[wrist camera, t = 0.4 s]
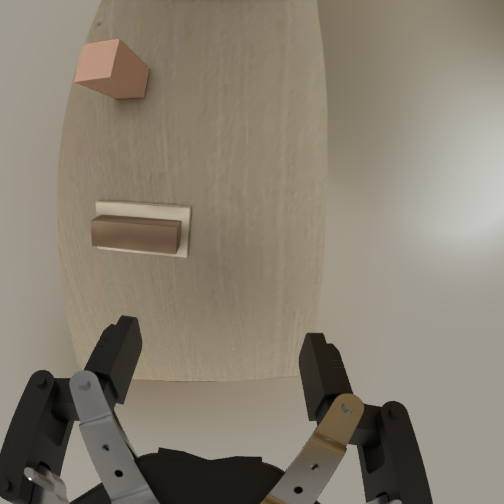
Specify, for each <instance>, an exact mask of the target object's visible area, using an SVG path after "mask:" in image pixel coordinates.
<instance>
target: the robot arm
mask: <svg viewBox="0 0 504 504" xmlns="http://www.w3.org/2000/svg"><path fill="white" fill-rule="evenodd" d="M141 350H142V338H141V333H140V328H139V323H138V319H137V318H136V317H130V316H124V315H122V316H121V317H120V319H119V320H118V322H117V324H116V325H114V324H111V325H110V326H108V327H107V328H106V329H105V330H104V331H103V333H102V335H101V337H100V340H99V341H98V342H97V344H96V346H95V348H94V350H93V352H92V354H91V356H90V358H89V360H88V362H87V364H86V367H85V368H84V370H83V371H79V372H77V373H75V374H74V375H73V376H72V377H71V378H54V377H53V375H52V374H51V373H50V372H49V371H46V370H39V371H37V372H35V373H34V374H33V375H32V376H31V377H30V379H29V381H28V384H27V386H26V388H25V390H24V392H23V395H22V397H21V399H20V402H19V404H18V406H17V409H16V411H15V413H14V416H13V418H12V421H11V423H10V426H9V429H8V432H7V434H6V437H5V441H4V443H3V446H2V450H1V453H0V496H1V497H2V498H3V499H5V500H7V501H9V502H11V503H13V504H320V503H319V502H318V501H317V498H318V497H319V495H320V494H321V492H322V491H323V489H324V488H325V486H326V485H327V483H328V482H329V480H330V478H331V477H332V475H333V473H334V472H335V470H336V469H337V467H338V465H339V463H340V461H341V460H342V458H343V456H344V455H345V453H346V450H347V448H346V446H347V444H352V445H357V448H358V454H359V459H360V465H361V472H362V478H363V484H364V491H365V498H366V503H365V504H433V502H432V497H431V493H430V488H429V484H428V480H427V476H426V472H425V468H424V464H423V460H422V457H421V453H420V450H419V446H418V443H417V440H416V437H415V433H414V430H413V427H412V424H411V421H410V418H409V415H408V412H407V409H406V408H405V407H404V405H402V404H401V403H399V402H396V401H390V402H387V403H385V404H384V405H383V406H382V407H379V406H372V405H367V404H364V403H363V402H362V401H361V399H360V398H359V397H357V396H356V395H354V394H353V392H352V389H351V386H350V383H349V380H348V376H347V374H346V370H345V368H344V364H343V362H342V358H341V355H340V352H339V351H338V349H337V348H336V347H335V346H334V345H333V344H327V343H326V340H325V337H324V335H323V333H307V334H306V336H305V339H304V342H303V345H302V348H301V351H300V355H299V368H300V374H301V379H302V385H303V390H304V396H305V401H306V407H307V412H308V418H309V421H317V428H316V429H315V431H314V432H313V434H312V435H311V437H310V438H309V440H308V441H307V442H306V444H305V445H304V447H303V448H302V450H301V451H300V452H299V454H298V455H297V456H296V458H295V459H294V460H293V462H292V463H291V464H290V466H289V467H288V468H287V469H286V471H285V472H284V471H283V470H281V469H280V468H278V467H276V466H273V465H271V464H268V463H264V462H262V457H243V456H235V457H229V458H223V459H215V460H207V459H204V458H201V457H198V456H195V455H192V454H189V453H186V452H184V451H177V450H171V449H165V448H159V450H158V453H150V454H146V455H142V456H140V457H138V455H137V454H136V452H135V450H134V448H133V447H132V445H131V444H130V442H129V440H128V438H127V436H126V434H125V432H124V430H123V428H122V426H121V424H120V422H119V420H118V417H117V415H116V413H115V411H114V407H115V404H116V403H119V404H124V401H125V398H126V394H127V391H128V388H129V385H130V382H131V379H132V376H133V373H134V370H135V367H136V365H137V362H138V359H139V356H140V353H141ZM74 421H80V422H81V424H80V425H79V428H80V431H81V434H82V437H83V440H84V442H85V445H86V447H87V450H88V452H89V455H90V457H91V459H92V462H93V464H94V466H95V468H96V470H97V473H98V474H99V477H100V479H101V481H102V482H101V483H100V484H98V485H97V486H95V487H94V488H92V489H91V490H89V491H88V492H86V493H85V494H83V495H81V496H80V497H78V498H77V499H75V500H73V501H72V502H70V503H69V501H68V500H67V496H66V486H65V484H64V482H63V480H62V479H61V478H60V474H61V469H62V465H63V460H64V456H65V452H66V448H67V445H68V441H69V437H70V434H71V430H72V427H73V423H74Z"/></svg>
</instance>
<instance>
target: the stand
mask: <svg viewBox="0 0 504 504" xmlns="http://www.w3.org/2000/svg"><path fill="white" fill-rule="evenodd" d="M190 216H191V206H182V205H169V204H156V203H142V202H126V201H108V200H99V201H97V202H96V218H94V219H93V220H91V235H92V246H97V249H106V250H115V251H124V252H134V253H144V254H153V255H163V256H173V257H184V258H187V256H188V247H189V231H190Z"/></svg>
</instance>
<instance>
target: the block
mask: <svg viewBox="0 0 504 504" xmlns="http://www.w3.org/2000/svg"><path fill="white" fill-rule="evenodd" d="M149 70H150V69H149V68H148V66H147V65H146V64H145V63H144V62H143V61H142V60H141V59H140V58H139V57H138V56H137V55H136V54H135V53H134V52H133V51H132V50H131V49H130V48H129V47H128V46H127V45H126V44H125V43H123V42H122V41H121V40H120V39H114V40H108V41H102V42H96V43H91V44H86V45H83V47H82V51H81V54H80V58H79V62H78V66H77V70H76V75H75V79H74V82H75V83H77V84H80V85H83V86H85V87H88V88H90V89H93V90H95V91H98V92H100V93H103V94H105V95H107V96H110V97H112V98H114V99H123V98H144V97H145V91H146V85H147V80H148V75H149Z"/></svg>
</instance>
